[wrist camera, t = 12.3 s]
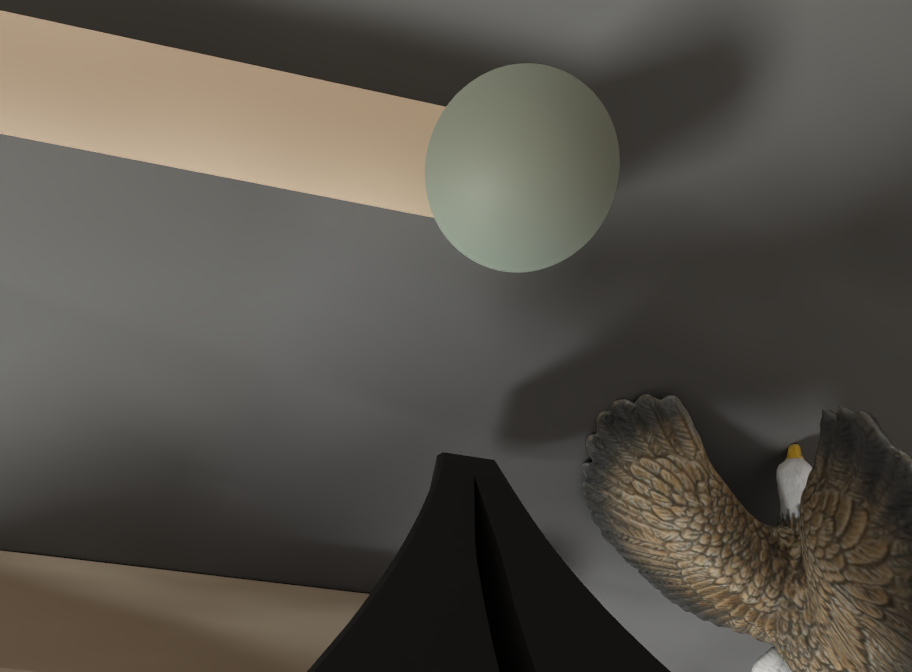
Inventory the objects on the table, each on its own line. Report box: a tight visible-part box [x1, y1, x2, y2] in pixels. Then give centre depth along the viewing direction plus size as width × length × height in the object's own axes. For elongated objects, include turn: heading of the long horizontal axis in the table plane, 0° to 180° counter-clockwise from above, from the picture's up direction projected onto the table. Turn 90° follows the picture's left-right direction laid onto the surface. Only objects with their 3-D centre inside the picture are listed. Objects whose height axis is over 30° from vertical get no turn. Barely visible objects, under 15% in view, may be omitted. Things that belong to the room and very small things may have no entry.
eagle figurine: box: [582, 394, 912, 672], centre depth 10 cm, size 8×7×9 cm
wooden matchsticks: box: [0, 10, 620, 672], centre depth 9 cm, size 16×14×5 cm
